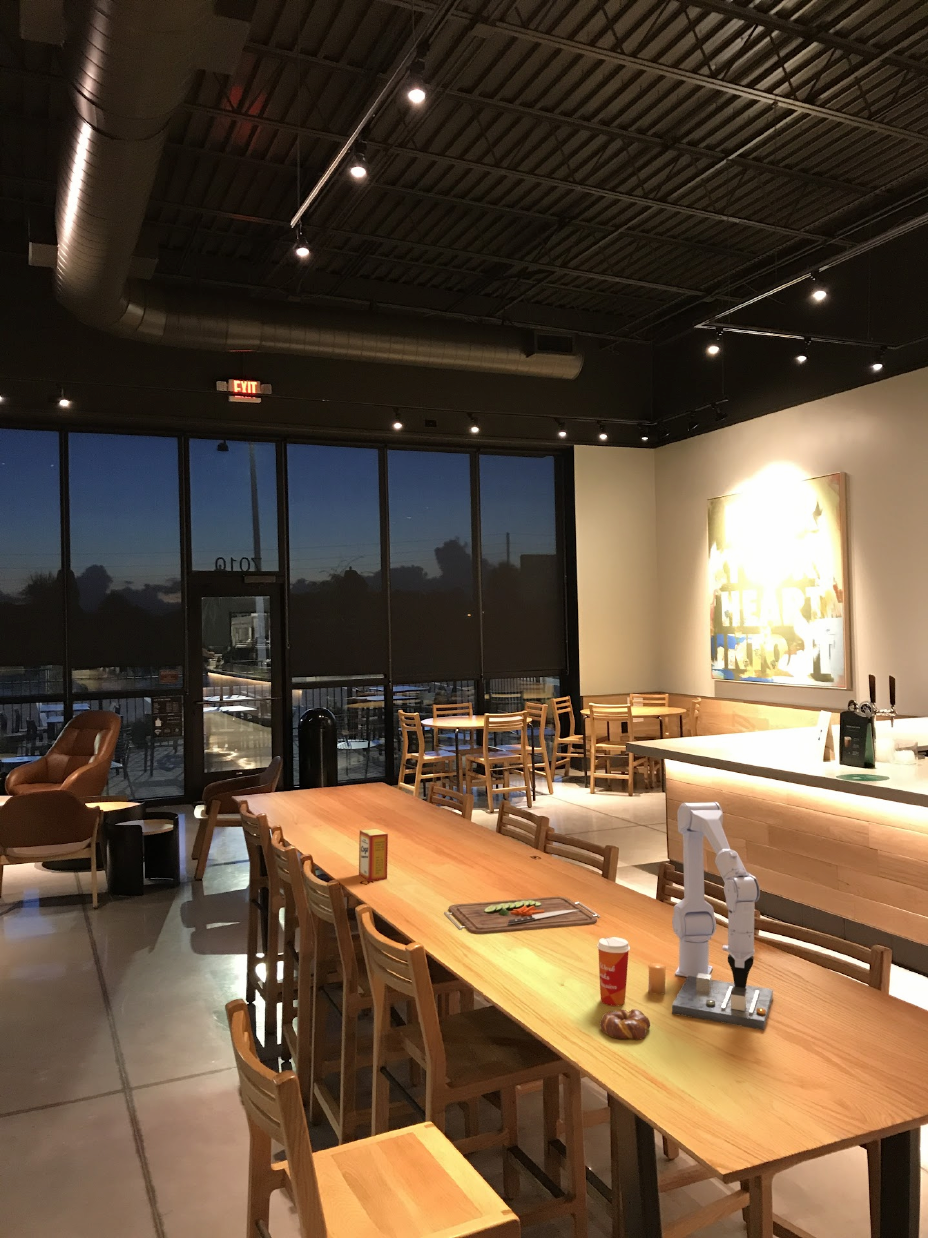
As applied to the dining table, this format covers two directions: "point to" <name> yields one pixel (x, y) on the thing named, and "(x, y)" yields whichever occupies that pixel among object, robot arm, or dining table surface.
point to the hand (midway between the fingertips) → (740, 988)
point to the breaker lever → (738, 998)
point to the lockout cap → (656, 978)
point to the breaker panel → (721, 1002)
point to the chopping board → (521, 915)
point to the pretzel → (625, 1024)
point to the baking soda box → (373, 854)
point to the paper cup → (613, 970)
